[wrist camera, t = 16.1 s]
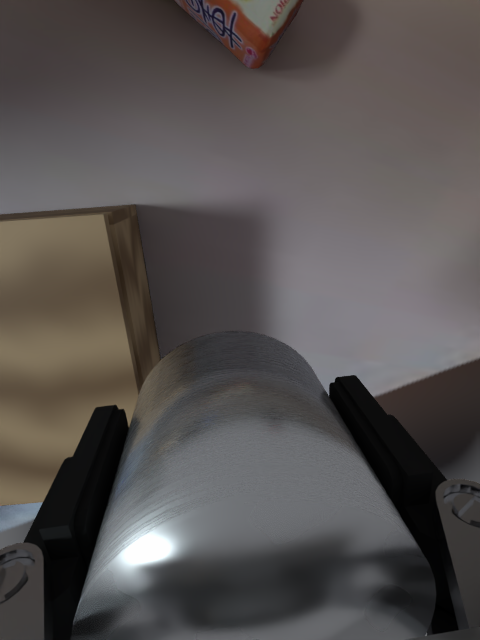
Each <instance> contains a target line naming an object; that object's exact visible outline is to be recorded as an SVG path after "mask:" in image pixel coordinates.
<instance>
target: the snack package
mask: <svg viewBox="0 0 480 640" xmlns="http://www.w3.org/2000/svg"><path fill="white" fill-rule="evenodd" d="M174 1H175V2H176V3H177V4H178V5H179V6H181V7H182V8H183V9H184V10H185V11H186V12H187V13H188V14H189V15H190V16H192V17H193V18H194V19H195V20H196V21H197V22H198V23H199V24H201V25H202V26H203V27H204V28H205V29H206V30H207V31H209V32H210V33H211V34H212V35H213V36H214V37H215V38H216V39H218V40H219V41H220V42H221V43H222V44H223V45H224V46H226V47H227V48H228V49H229V50H230V51H231V52H232V53H233V54H234V55H235V56H236V57H237V58H238V59H239V60H240V61H241V62H242V63H243V64H244V65H245V66H247V67H248V68H251V69H255V68H259V67H260V66H262V65H263V64H264V63H265V61H266V60H267V59H268V57H269V56H270V54H271V53H272V51H273V49H274V48H275V46H276V45H277V43H278V42H279V40H280V38H281V37H282V35H283V34H284V32H285V31H286V29H287V28H288V26H289V25H290V23H291V22H292V20H293V19H294V17H295V16H296V14H297V12H298V10H299V8H300V6H301V4H302V2H303V0H174Z"/></svg>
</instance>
